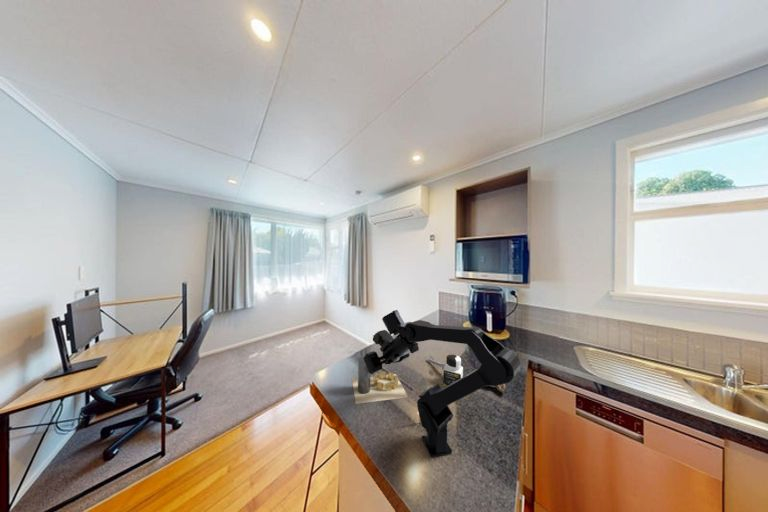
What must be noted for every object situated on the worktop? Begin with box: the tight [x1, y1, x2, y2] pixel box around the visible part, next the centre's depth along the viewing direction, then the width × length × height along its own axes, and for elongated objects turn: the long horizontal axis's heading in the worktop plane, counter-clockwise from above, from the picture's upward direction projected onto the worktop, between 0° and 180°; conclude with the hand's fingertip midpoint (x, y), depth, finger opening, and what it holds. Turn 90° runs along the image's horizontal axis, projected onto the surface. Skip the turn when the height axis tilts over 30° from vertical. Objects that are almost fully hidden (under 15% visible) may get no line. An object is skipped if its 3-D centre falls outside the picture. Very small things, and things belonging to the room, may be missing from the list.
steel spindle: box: [357, 356, 372, 394], centre depth 84 cm, size 5×5×12 cm
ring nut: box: [373, 371, 399, 391], centre depth 88 cm, size 10×10×2 cm
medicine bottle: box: [442, 354, 464, 387], centre depth 91 cm, size 7×7×12 cm
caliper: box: [426, 358, 446, 370], centre depth 104 cm, size 21×1×6 cm, turn 20°
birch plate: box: [351, 373, 409, 405], centre depth 86 cm, size 17×20×1 cm
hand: (376, 366), depth 79 cm, fingers open, 9 cm apart
